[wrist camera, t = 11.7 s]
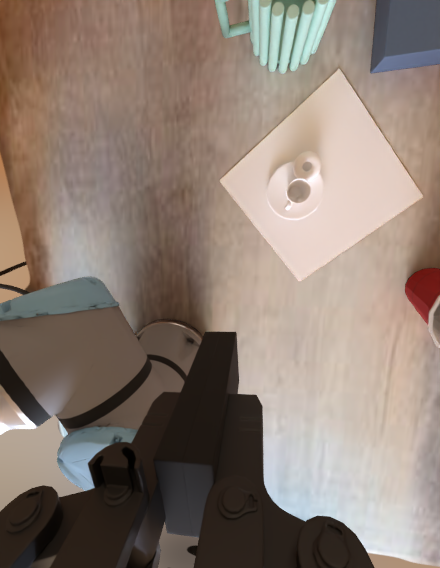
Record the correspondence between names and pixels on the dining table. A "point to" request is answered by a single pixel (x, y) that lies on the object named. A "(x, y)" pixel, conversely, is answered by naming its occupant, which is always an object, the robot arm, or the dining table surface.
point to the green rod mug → (281, 29)
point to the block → (406, 34)
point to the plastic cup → (426, 298)
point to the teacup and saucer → (321, 179)
